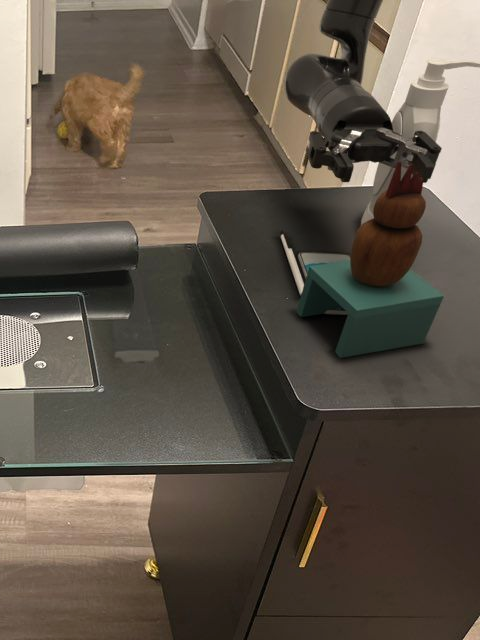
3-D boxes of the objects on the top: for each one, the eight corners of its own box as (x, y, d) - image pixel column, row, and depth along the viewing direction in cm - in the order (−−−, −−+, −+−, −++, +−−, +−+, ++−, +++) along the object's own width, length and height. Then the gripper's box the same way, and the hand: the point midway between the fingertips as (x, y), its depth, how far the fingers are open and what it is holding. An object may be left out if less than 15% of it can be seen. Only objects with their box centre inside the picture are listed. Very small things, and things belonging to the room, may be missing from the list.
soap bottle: (424, 254, 103) (495, 78, 87) (365, 250, 105) (424, 76, 89) (408, 212, 113) (470, 46, 97) (354, 209, 114) (406, 45, 99)
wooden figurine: (346, 290, 86) (386, 169, 76) (339, 264, 90) (377, 147, 80) (409, 295, 84) (458, 172, 74) (399, 269, 88) (445, 150, 79)
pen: (284, 234, 110) (286, 227, 109) (309, 305, 95) (311, 298, 95) (278, 234, 110) (280, 227, 109) (302, 305, 96) (304, 298, 95)
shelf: (373, 299, 96) (390, 253, 91) (423, 343, 88) (444, 295, 84) (295, 312, 94) (309, 266, 90) (340, 358, 87) (357, 310, 82)
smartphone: (350, 253, 104) (377, 313, 93) (348, 258, 104) (375, 318, 93) (297, 251, 105) (318, 309, 94) (295, 256, 106) (316, 315, 94)
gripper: (301, 95, 95) (331, 144, 83) (417, 93, 93) (465, 143, 81) (288, 150, 100) (315, 204, 88) (398, 150, 98) (441, 205, 86)
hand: (387, 175), depth 85 cm, fingers open, 8 cm apart
